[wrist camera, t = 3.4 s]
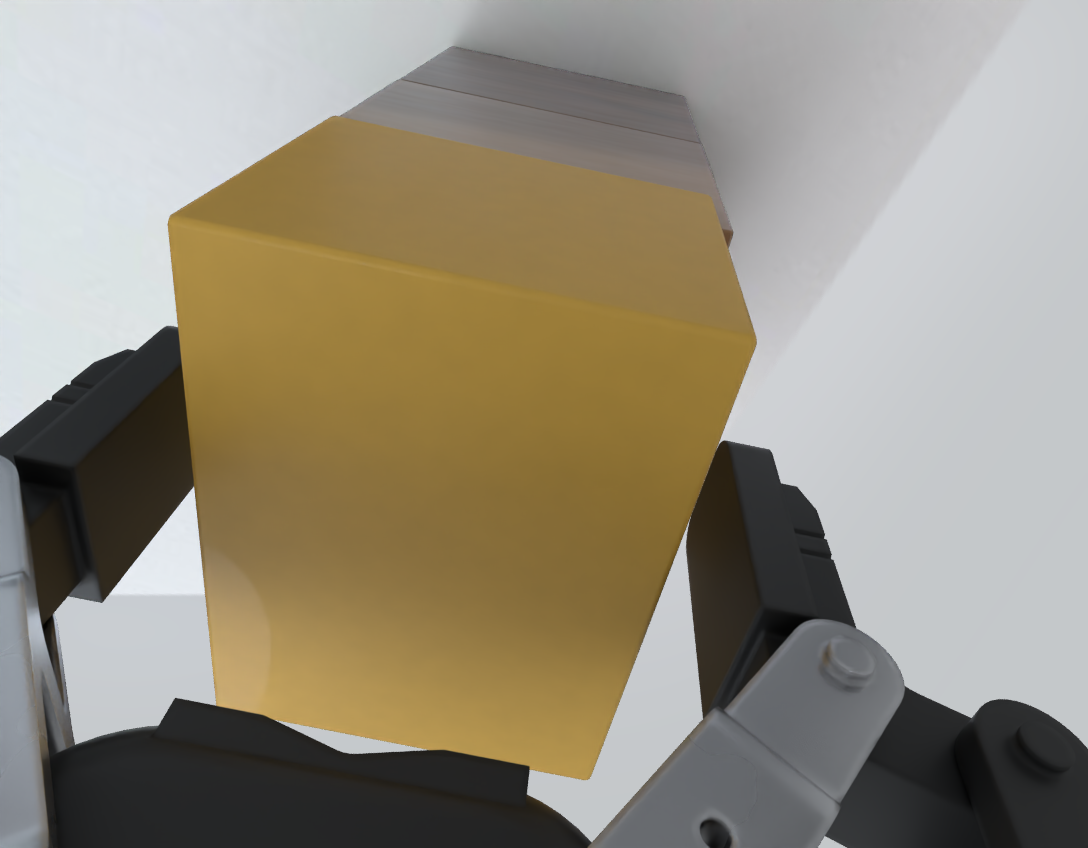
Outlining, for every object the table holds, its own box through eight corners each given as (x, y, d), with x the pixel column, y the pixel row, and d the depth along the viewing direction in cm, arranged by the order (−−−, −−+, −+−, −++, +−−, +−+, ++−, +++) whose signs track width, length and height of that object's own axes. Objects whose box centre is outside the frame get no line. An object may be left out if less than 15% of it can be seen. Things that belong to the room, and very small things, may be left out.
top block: (322, 507, 16) (214, 710, 12) (331, 113, 11) (162, 214, 7) (600, 563, 16) (589, 784, 12) (714, 194, 12) (761, 339, 7)
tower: (450, 45, 22) (299, 139, 12) (685, 96, 22) (734, 231, 12) (427, 269, 26) (299, 484, 16) (628, 311, 26) (628, 550, 16)
